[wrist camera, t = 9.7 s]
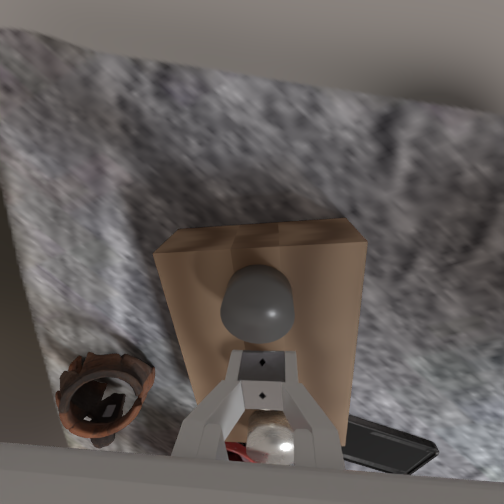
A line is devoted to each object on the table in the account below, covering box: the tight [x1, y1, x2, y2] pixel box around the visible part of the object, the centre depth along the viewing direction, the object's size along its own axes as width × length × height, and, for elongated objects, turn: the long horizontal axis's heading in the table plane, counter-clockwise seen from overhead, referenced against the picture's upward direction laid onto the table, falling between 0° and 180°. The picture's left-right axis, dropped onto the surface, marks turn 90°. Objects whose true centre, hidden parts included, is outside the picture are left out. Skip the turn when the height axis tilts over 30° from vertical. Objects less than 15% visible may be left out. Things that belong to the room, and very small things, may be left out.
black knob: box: [220, 265, 295, 344], centre depth 18 cm, size 5×5×7 cm
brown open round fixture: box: [55, 352, 155, 448], centre depth 27 cm, size 12×10×8 cm
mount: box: [153, 218, 368, 446], centre depth 22 cm, size 14×22×5 cm, turn 6°
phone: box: [341, 415, 439, 475], centre depth 31 cm, size 8×1×15 cm
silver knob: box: [246, 409, 294, 465], centre depth 24 cm, size 5×5×7 cm
